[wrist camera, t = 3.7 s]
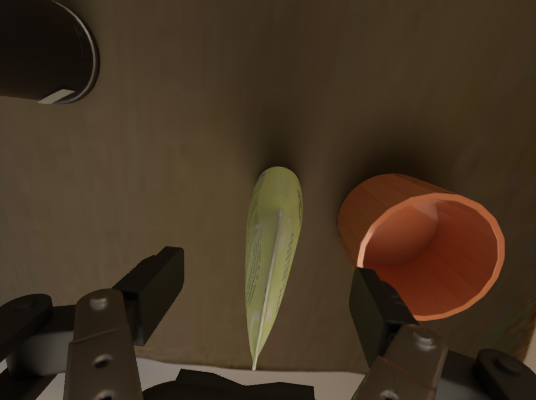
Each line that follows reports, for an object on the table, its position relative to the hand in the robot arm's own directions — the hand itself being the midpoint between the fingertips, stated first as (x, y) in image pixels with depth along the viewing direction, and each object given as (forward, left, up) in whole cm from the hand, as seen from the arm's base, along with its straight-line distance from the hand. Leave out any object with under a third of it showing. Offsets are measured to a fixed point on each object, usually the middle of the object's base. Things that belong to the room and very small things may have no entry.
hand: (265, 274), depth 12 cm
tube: (0, 0, -18) cm, 18 cm away
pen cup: (+12, -2, -18) cm, 22 cm away
